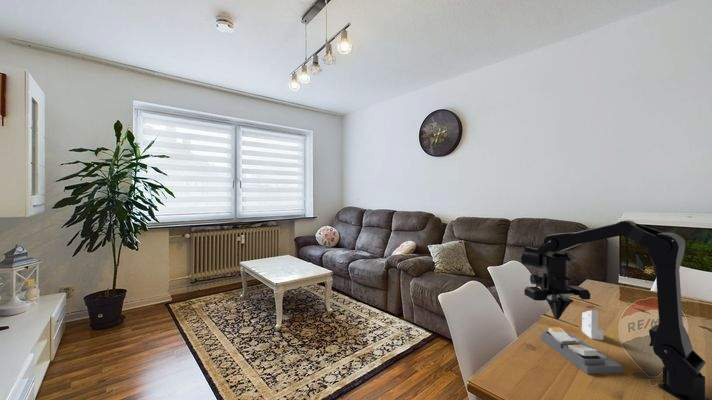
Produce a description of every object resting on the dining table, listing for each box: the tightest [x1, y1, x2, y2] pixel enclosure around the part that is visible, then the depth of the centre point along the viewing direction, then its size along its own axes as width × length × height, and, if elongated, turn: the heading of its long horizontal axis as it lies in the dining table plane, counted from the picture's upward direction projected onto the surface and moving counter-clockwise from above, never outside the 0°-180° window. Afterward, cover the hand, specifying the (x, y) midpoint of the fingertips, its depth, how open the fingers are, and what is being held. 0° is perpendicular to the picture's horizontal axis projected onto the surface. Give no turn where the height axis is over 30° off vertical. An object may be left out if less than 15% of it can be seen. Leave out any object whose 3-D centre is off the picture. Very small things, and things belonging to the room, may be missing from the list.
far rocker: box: [547, 327, 574, 343], centre depth 94 cm, size 6×4×2 cm, turn 2°
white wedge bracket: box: [581, 309, 605, 341], centre depth 102 cm, size 4×10×9 cm, turn 168°
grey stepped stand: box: [540, 330, 623, 375], centre depth 90 cm, size 19×10×3 cm, turn 2°
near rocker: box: [568, 345, 598, 356], centre depth 86 cm, size 6×4×2 cm, turn 2°
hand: (556, 318), depth 96 cm, fingers closed
